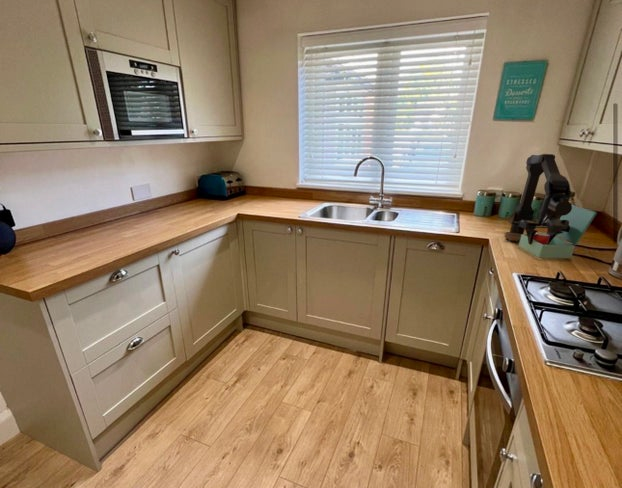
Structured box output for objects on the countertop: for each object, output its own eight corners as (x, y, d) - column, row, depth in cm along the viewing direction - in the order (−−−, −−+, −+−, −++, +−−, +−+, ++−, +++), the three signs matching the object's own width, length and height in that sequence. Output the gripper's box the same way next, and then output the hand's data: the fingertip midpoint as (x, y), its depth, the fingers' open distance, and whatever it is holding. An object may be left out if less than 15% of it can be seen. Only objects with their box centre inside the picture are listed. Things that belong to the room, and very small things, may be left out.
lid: (595, 212, 131) (597, 212, 131) (568, 203, 144) (570, 204, 145) (574, 244, 136) (576, 245, 136) (550, 233, 150) (552, 234, 150)
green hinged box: (538, 259, 139) (542, 245, 136) (518, 247, 152) (521, 234, 150) (570, 260, 139) (575, 246, 136) (547, 247, 152) (551, 234, 150)
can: (525, 248, 148) (530, 231, 145) (539, 249, 148) (544, 231, 145) (534, 253, 142) (539, 235, 139) (548, 254, 142) (553, 236, 139)
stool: (499, 239, 162) (501, 232, 161) (517, 239, 163) (519, 232, 161) (509, 245, 154) (511, 238, 153) (528, 245, 154) (530, 238, 153)
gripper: (539, 213, 130) (527, 250, 136) (586, 216, 131) (572, 252, 137) (523, 206, 141) (512, 241, 147) (566, 209, 141) (554, 243, 147)
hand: (537, 244), depth 144 cm, fingers open, 7 cm apart
